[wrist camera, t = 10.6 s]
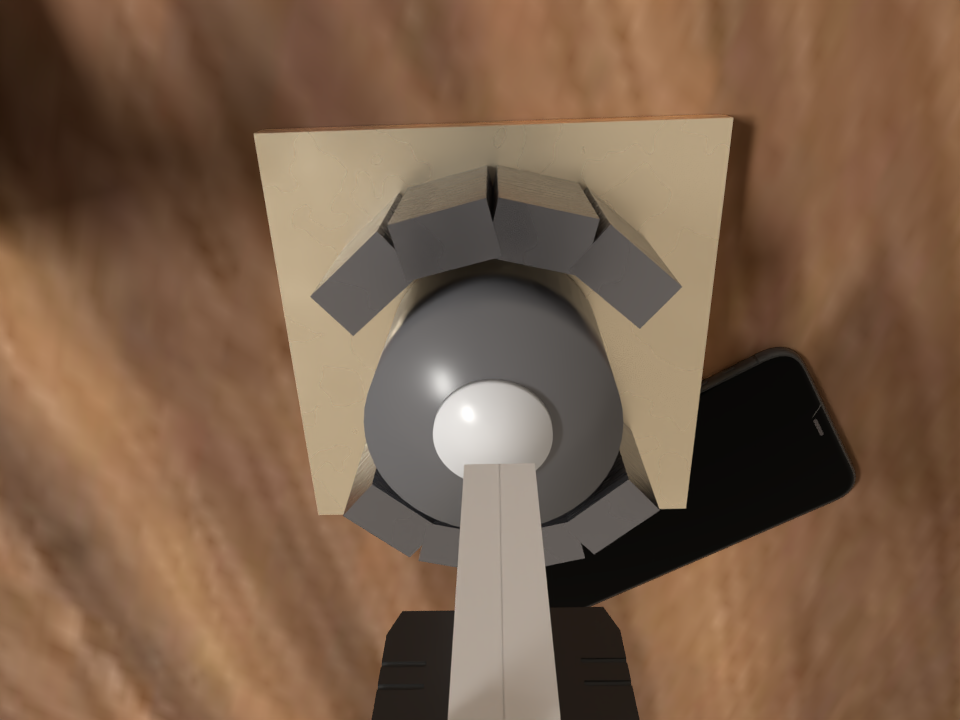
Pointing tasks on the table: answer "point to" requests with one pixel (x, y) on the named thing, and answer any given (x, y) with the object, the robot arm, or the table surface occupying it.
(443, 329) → the dark grey rounded knob
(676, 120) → the plate with grey arcs
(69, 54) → the table surface
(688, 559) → the smartphone
